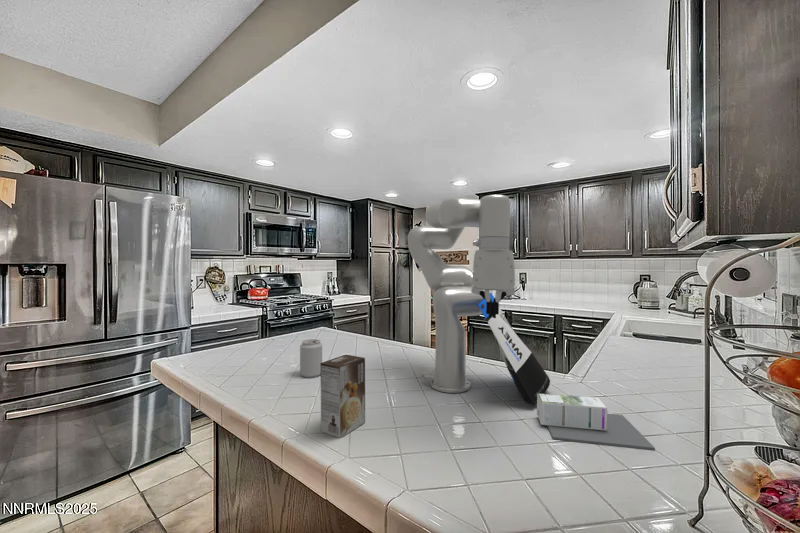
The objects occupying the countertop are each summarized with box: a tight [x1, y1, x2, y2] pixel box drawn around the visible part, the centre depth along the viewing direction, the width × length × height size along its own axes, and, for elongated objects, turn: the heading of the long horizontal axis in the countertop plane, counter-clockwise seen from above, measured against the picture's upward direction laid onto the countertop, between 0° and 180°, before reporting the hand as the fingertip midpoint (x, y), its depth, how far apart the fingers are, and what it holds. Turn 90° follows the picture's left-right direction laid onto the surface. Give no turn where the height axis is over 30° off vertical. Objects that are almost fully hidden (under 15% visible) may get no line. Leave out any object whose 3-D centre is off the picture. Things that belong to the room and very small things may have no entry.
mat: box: [546, 413, 656, 451], centre depth 81 cm, size 20×16×1 cm
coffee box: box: [320, 354, 366, 439], centre depth 81 cm, size 9×6×16 cm
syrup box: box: [536, 393, 609, 431], centre depth 82 cm, size 6×6×14 cm
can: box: [299, 338, 323, 379], centre depth 118 cm, size 8×8×12 cm
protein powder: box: [478, 292, 551, 406], centre depth 104 cm, size 10×24×30 cm, turn 154°
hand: (492, 317), depth 86 cm, fingers closed
